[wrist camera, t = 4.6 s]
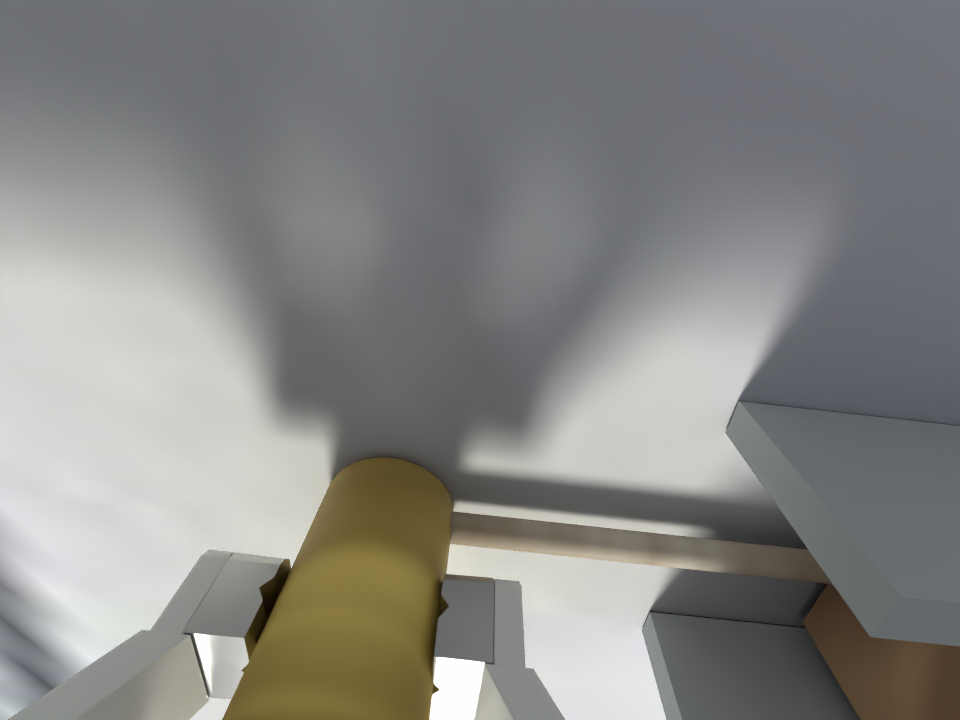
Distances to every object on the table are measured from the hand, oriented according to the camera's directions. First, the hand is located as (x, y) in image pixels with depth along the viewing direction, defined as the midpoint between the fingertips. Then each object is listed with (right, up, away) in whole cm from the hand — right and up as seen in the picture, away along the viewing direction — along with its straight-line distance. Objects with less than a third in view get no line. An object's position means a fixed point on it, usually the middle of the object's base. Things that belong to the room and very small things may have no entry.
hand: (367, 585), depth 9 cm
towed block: (+7, 0, +2) cm, 8 cm away
